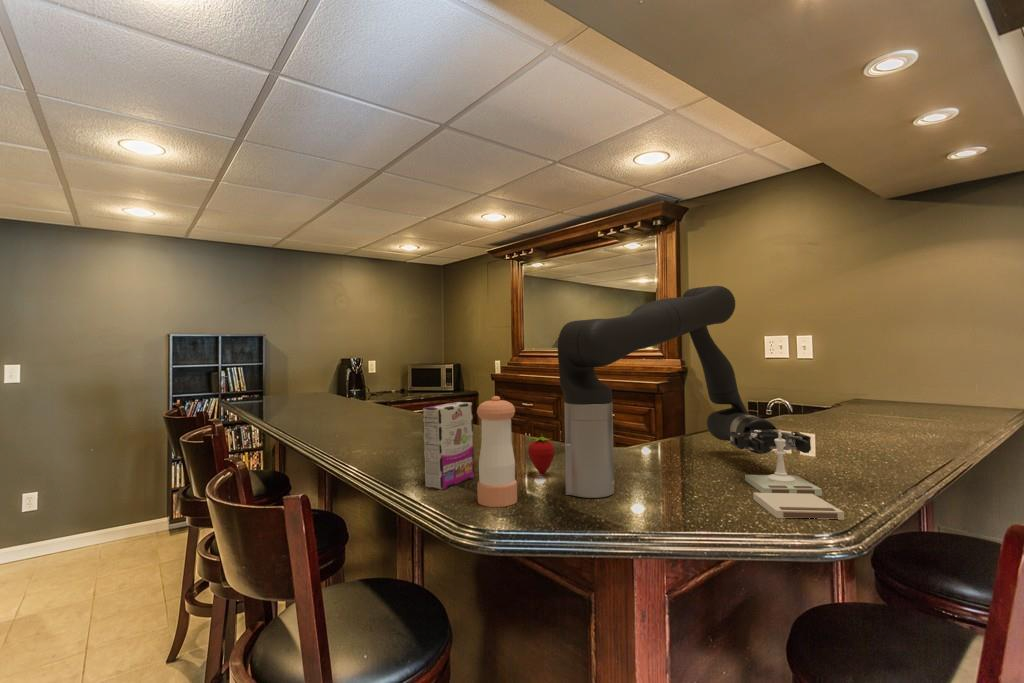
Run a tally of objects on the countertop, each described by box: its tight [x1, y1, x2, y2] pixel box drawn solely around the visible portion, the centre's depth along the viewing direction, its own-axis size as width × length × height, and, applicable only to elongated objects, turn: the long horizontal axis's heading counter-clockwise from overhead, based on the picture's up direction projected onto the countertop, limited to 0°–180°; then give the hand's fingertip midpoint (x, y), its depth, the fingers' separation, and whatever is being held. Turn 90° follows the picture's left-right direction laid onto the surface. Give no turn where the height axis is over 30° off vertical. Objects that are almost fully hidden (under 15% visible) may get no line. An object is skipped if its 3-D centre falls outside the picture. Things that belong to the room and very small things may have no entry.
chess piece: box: [767, 429, 796, 485], centre depth 95 cm, size 5×5×10 cm
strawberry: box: [527, 434, 556, 476], centre depth 107 cm, size 6×8×10 cm
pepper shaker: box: [476, 395, 518, 508], centre depth 89 cm, size 7×7×19 cm
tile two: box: [744, 474, 823, 497], centre depth 94 cm, size 10×10×1 cm
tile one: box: [752, 492, 845, 521], centre depth 82 cm, size 10×10×1 cm
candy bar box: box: [422, 401, 475, 490], centre depth 103 cm, size 11×5×16 cm, turn 148°
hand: (784, 447), depth 93 cm, fingers open, 7 cm apart
